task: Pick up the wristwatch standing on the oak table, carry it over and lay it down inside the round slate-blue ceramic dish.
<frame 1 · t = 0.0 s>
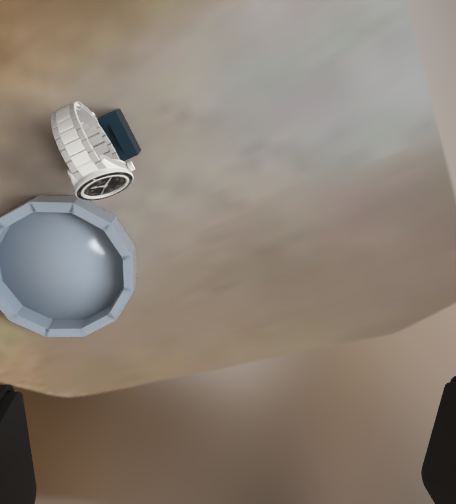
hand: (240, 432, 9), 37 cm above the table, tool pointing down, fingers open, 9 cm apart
dish: (65, 263, 46), on the table
watch: (107, 142, 42), on the table
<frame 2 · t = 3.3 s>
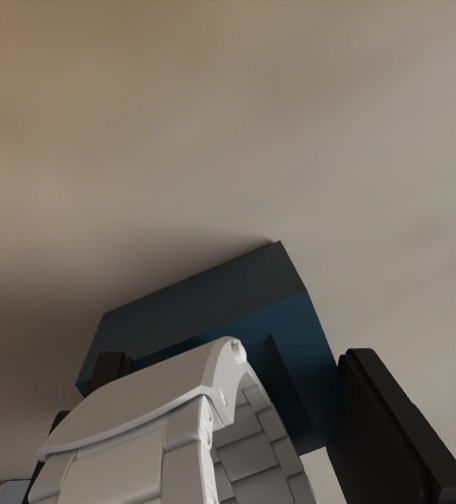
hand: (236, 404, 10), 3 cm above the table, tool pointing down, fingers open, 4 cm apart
watch: (222, 335, 13), on the table, touching gripper
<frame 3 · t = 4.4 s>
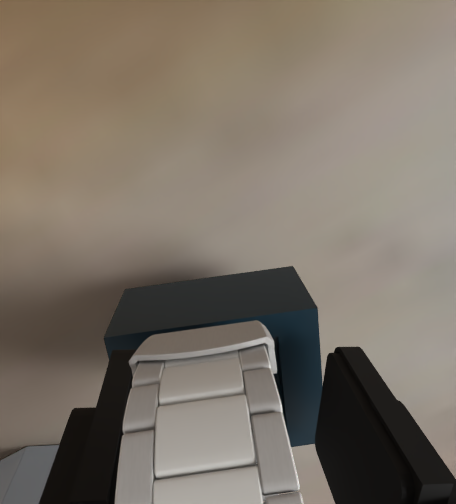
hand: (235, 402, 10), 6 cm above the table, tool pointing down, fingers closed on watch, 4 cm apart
watch: (219, 335, 15), point 2 cm above the table, touching gripper
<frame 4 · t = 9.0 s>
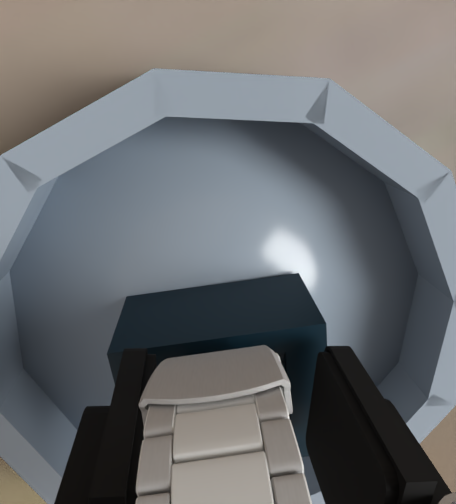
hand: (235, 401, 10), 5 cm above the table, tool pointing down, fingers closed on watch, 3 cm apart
dish: (220, 309, 15), on the table
watch: (222, 341, 14), point 1 cm above the table, touching dish, gripper
when the fingers open (5 cm above the table, at t = 9.1 s): watch stays where it is, resting on dish.
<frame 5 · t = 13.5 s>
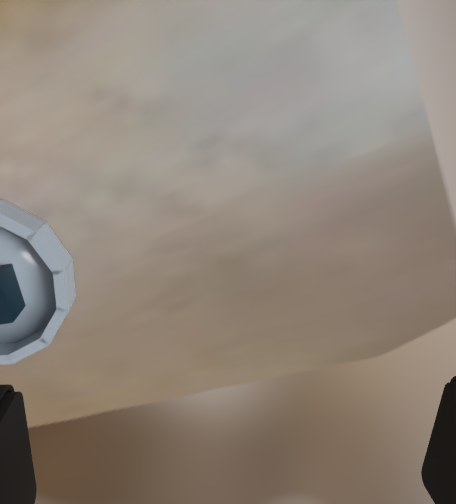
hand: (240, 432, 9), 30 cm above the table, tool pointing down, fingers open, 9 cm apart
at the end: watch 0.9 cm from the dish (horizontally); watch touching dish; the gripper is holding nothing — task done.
